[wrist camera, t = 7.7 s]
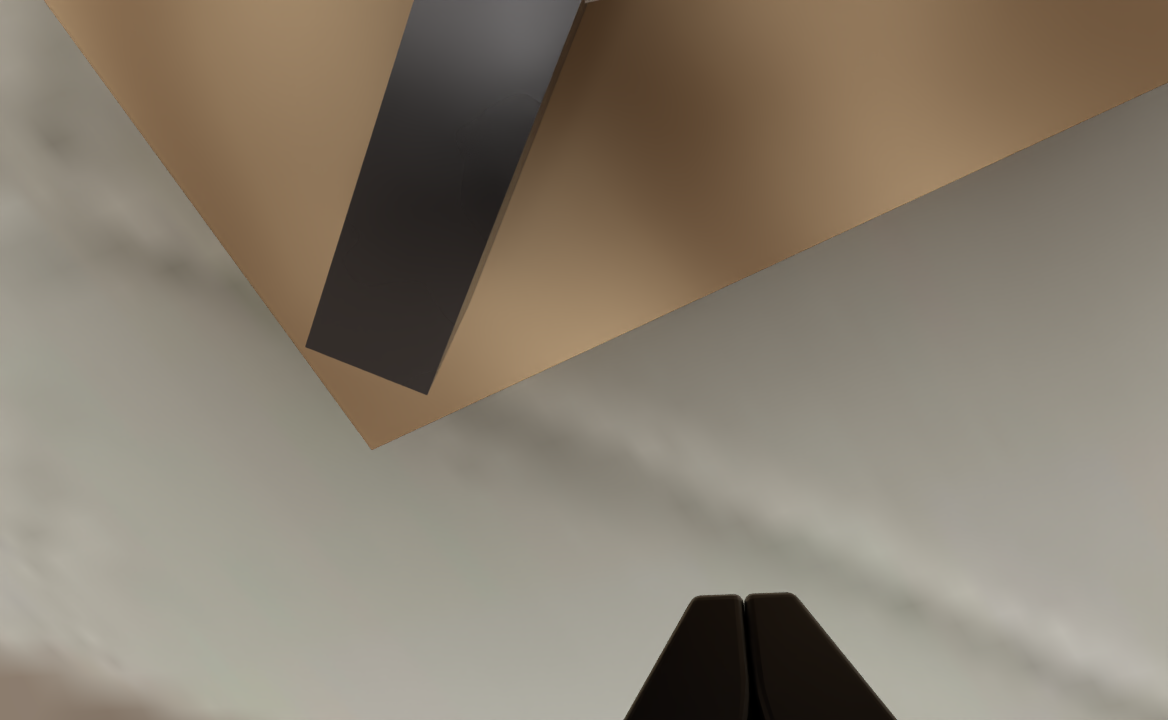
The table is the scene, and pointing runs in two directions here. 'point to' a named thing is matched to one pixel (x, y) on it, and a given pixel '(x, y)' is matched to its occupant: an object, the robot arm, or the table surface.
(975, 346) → the table surface
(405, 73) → the peg knob
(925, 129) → the tuner board
